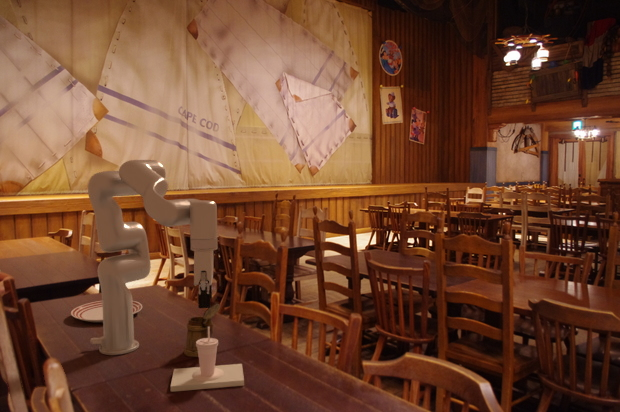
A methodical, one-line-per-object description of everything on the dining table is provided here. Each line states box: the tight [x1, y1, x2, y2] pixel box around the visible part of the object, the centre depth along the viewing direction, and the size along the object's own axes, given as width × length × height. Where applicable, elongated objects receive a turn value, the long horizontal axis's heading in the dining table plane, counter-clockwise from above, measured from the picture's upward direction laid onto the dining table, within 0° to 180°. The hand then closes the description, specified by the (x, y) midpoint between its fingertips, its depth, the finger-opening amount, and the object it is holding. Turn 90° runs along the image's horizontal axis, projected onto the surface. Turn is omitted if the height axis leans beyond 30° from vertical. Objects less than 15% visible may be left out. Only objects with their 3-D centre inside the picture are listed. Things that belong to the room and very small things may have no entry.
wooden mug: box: [183, 302, 220, 358], centre depth 166 cm, size 9×14×18 cm, turn 55°
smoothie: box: [196, 326, 219, 377], centre depth 146 cm, size 6×6×14 cm
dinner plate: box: [70, 300, 143, 323], centre depth 209 cm, size 27×27×3 cm
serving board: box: [170, 363, 245, 392], centre depth 146 cm, size 20×12×2 cm, turn 100°
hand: (205, 303), depth 145 cm, fingers open, 9 cm apart
